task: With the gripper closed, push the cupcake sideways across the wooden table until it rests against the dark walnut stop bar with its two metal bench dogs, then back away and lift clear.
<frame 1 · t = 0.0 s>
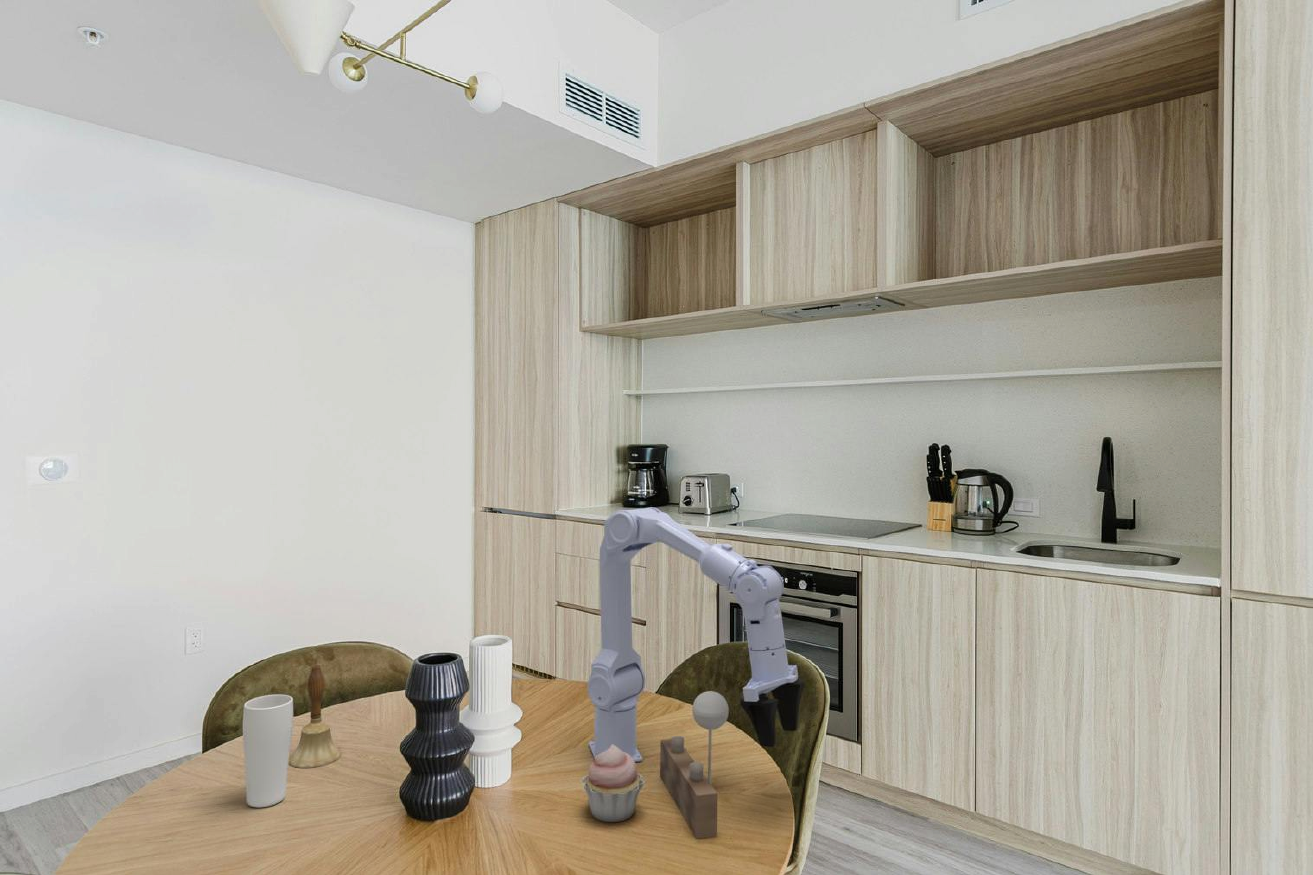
hand: (779, 737, 111), 11 cm above the table, tool pointing down, fingers open, 7 cm apart
stop bar: (686, 803, 112), on the table
hand bell: (315, 759, 126), on the table
lollipop: (709, 786, 118), on the table
drinking glass: (266, 802, 111), on the table
cupcake: (612, 813, 109), on the table
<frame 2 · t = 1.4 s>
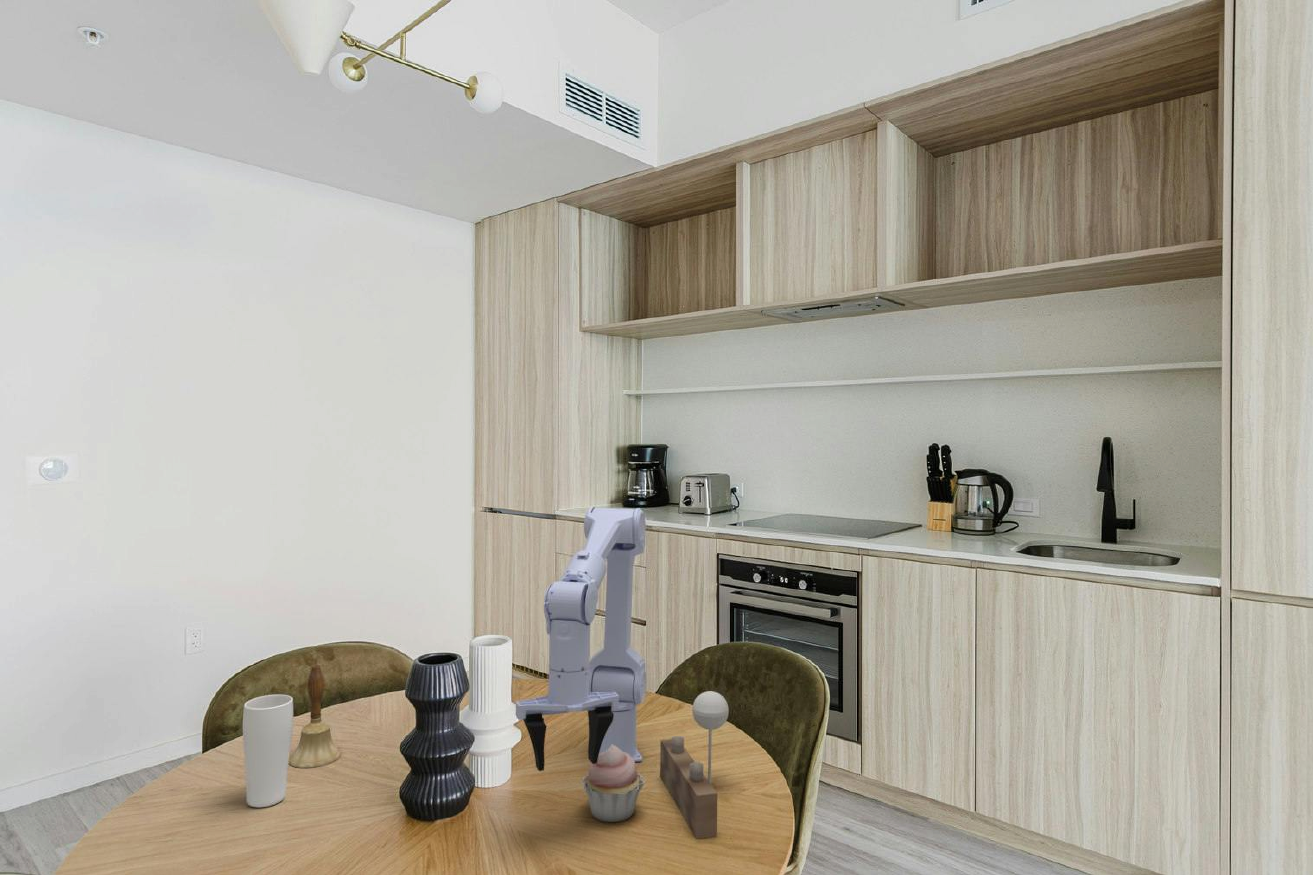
hand: (566, 764, 103), 10 cm above the table, tool pointing down, fingers open, 7 cm apart
nothing on the table moved.
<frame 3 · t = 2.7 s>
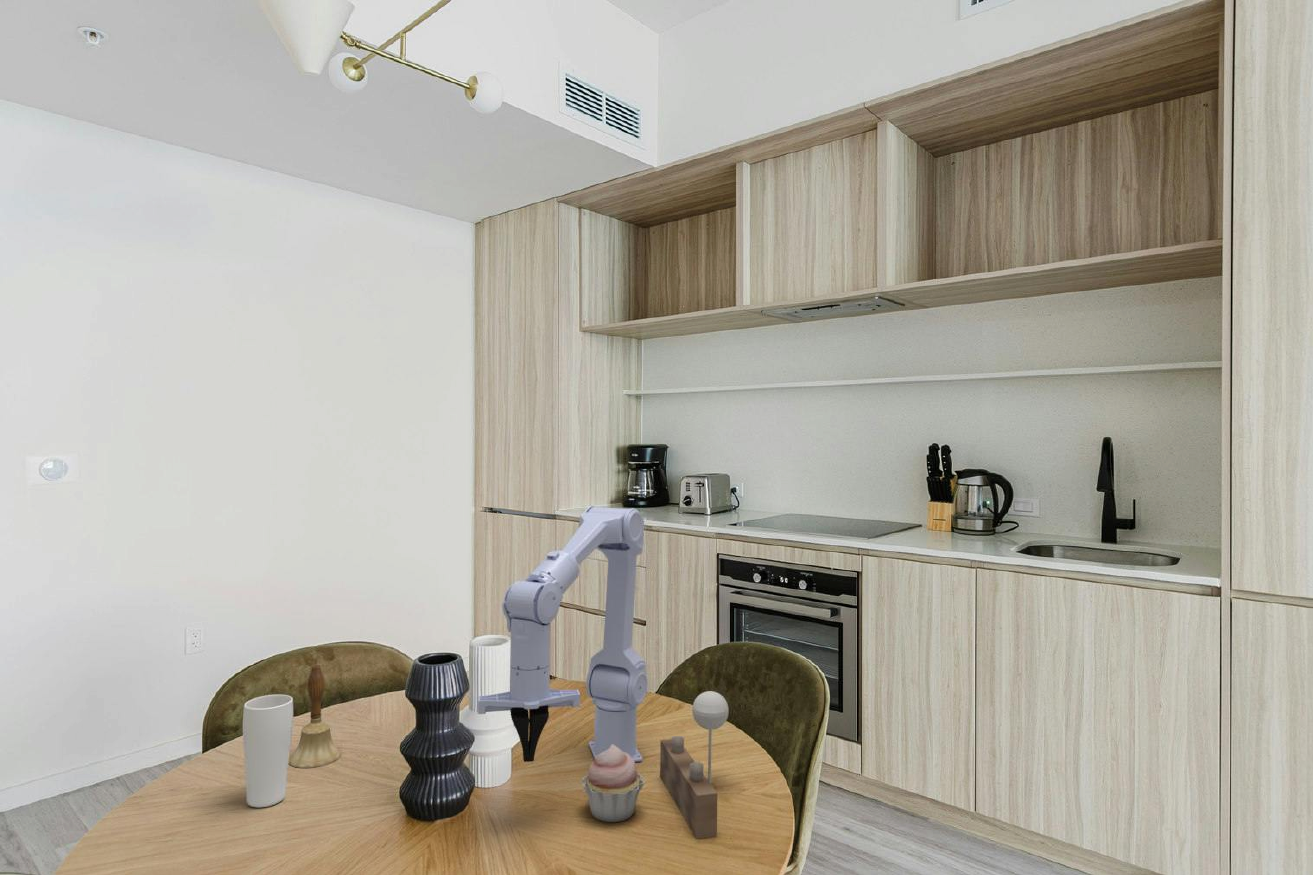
hand: (528, 758, 106), 9 cm above the table, tool pointing down, fingers closed
nothing on the table moved.
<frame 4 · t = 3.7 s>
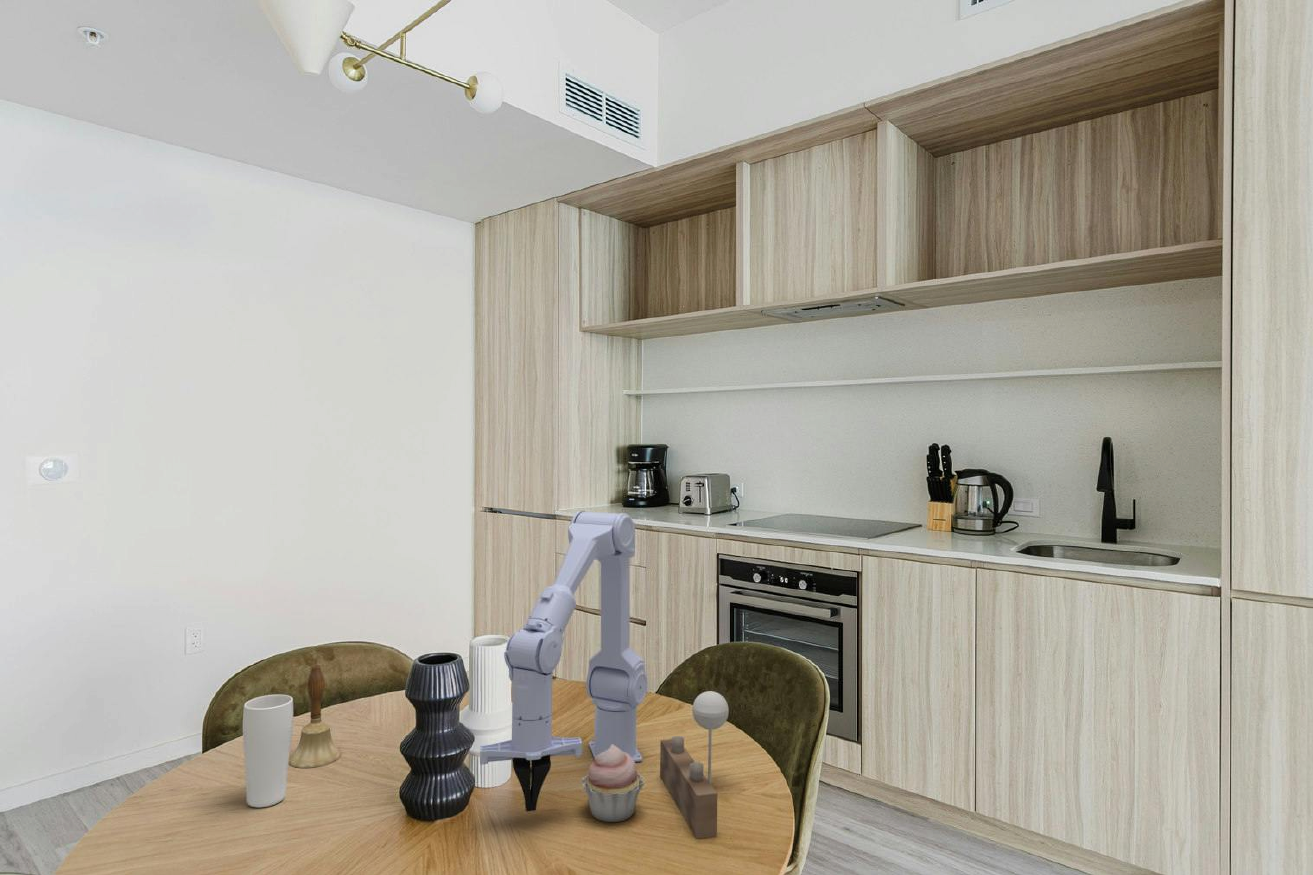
hand: (530, 807, 106), 2 cm above the table, tool pointing down, fingers closed
nothing on the table moved.
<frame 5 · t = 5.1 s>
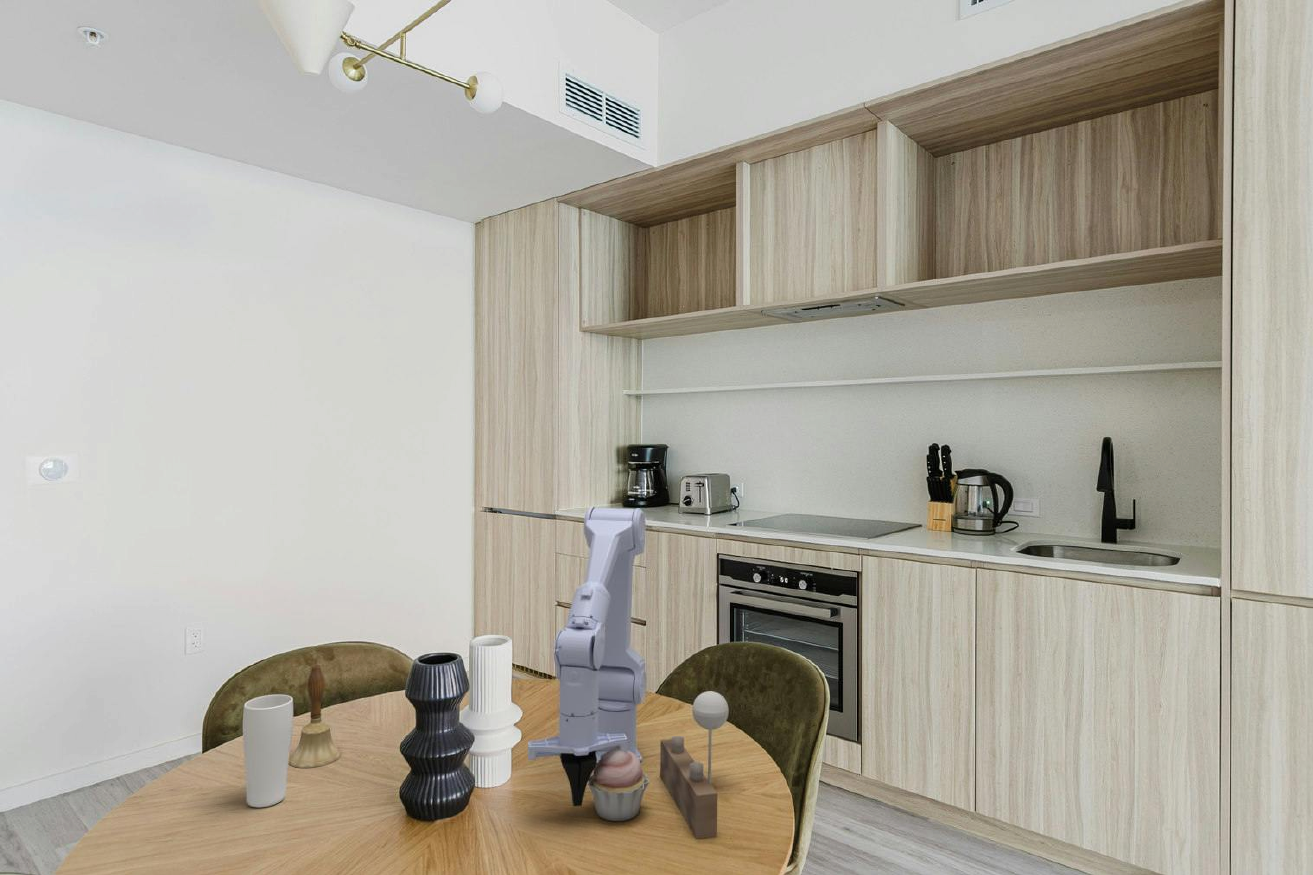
hand: (576, 802, 108), 2 cm above the table, tool pointing down, fingers closed
cupcake: (617, 812, 109), on the table, touching gripper
everything else where it was.
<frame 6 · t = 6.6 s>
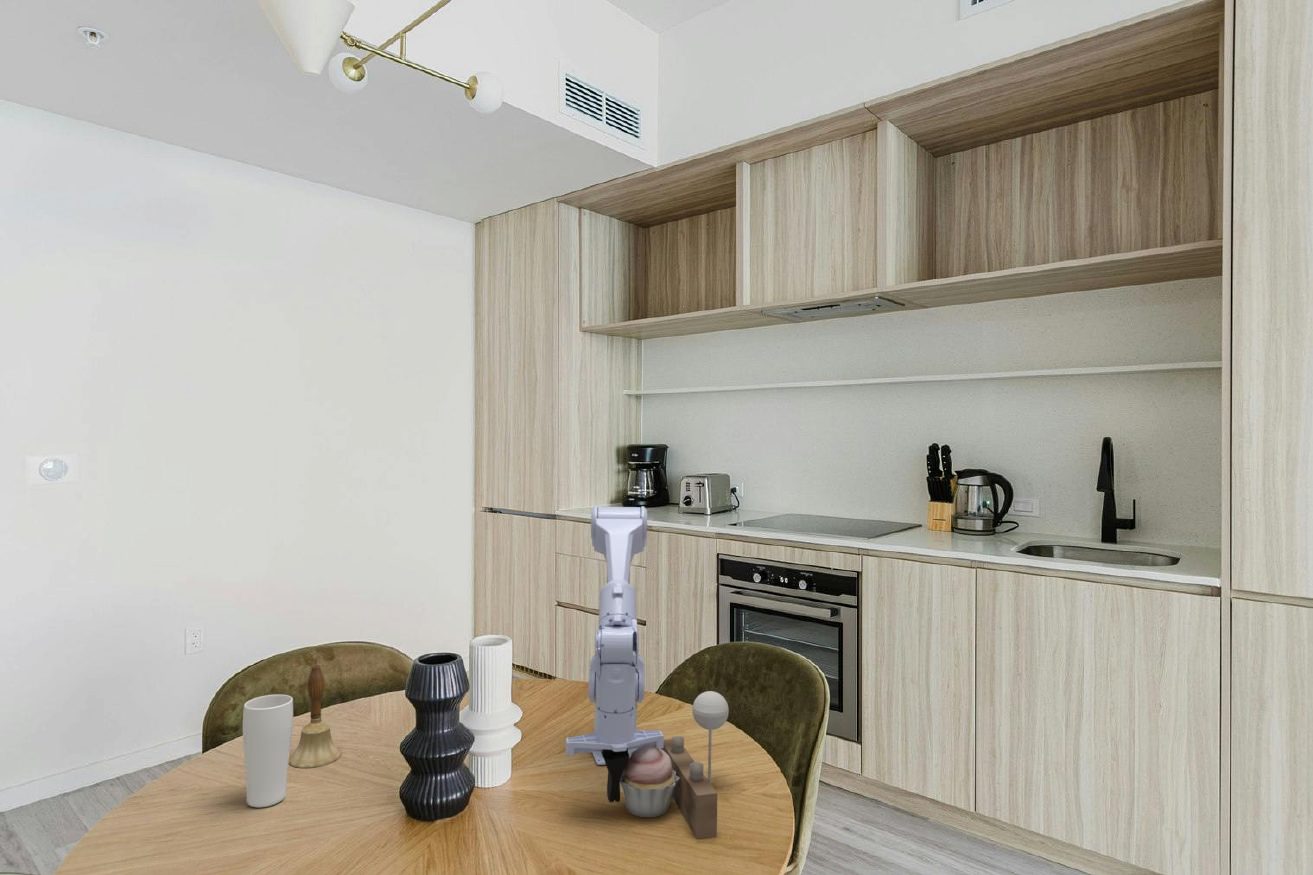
hand: (613, 799, 109), 2 cm above the table, tool pointing down, fingers closed, pressing on cupcake
cupcake: (646, 809, 110), on the table, touching gripper, stop bar
everything else where it was.
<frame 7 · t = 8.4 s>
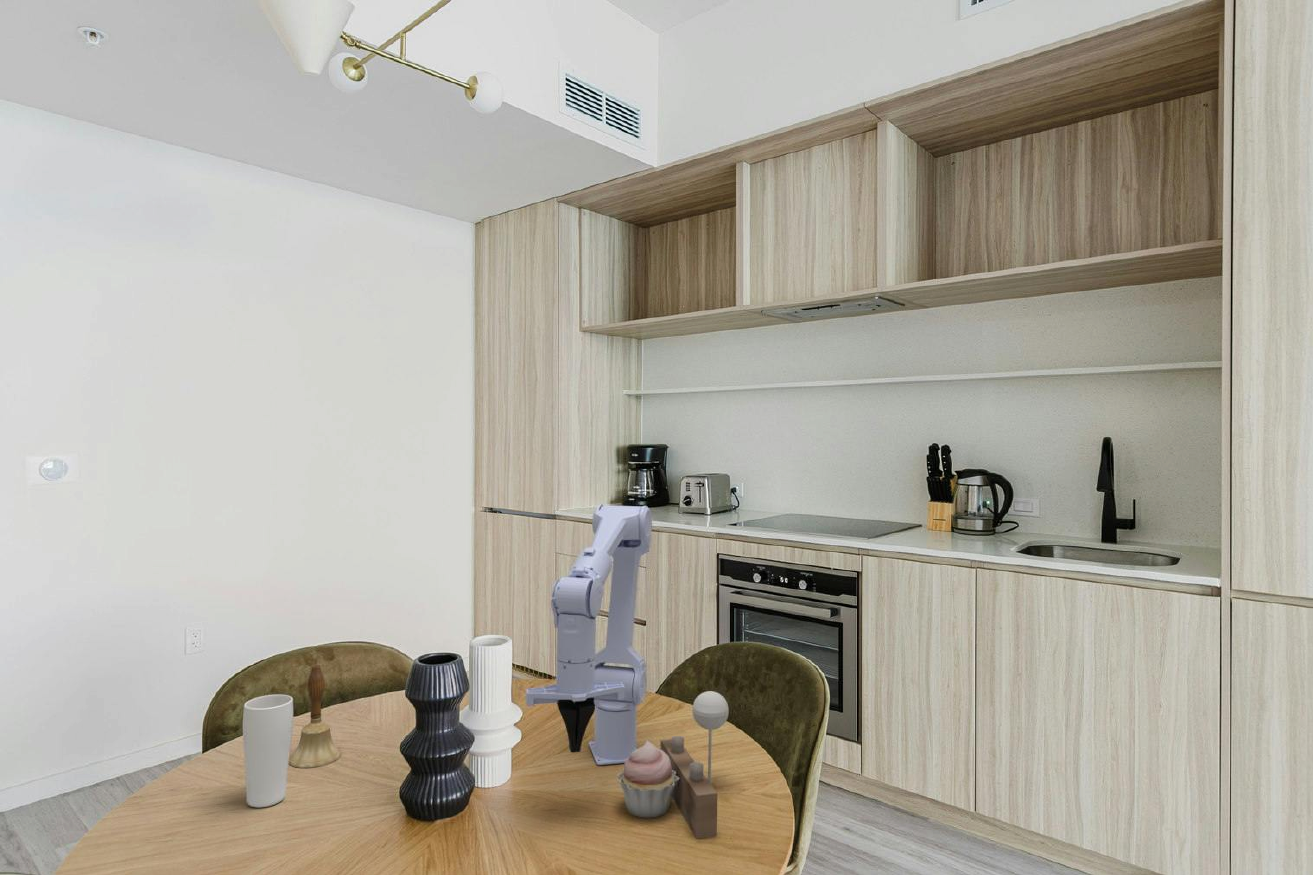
hand: (574, 749, 109), 9 cm above the table, tool pointing down, fingers closed
cupcake: (647, 809, 110), on the table, touching stop bar
everything else where it was.
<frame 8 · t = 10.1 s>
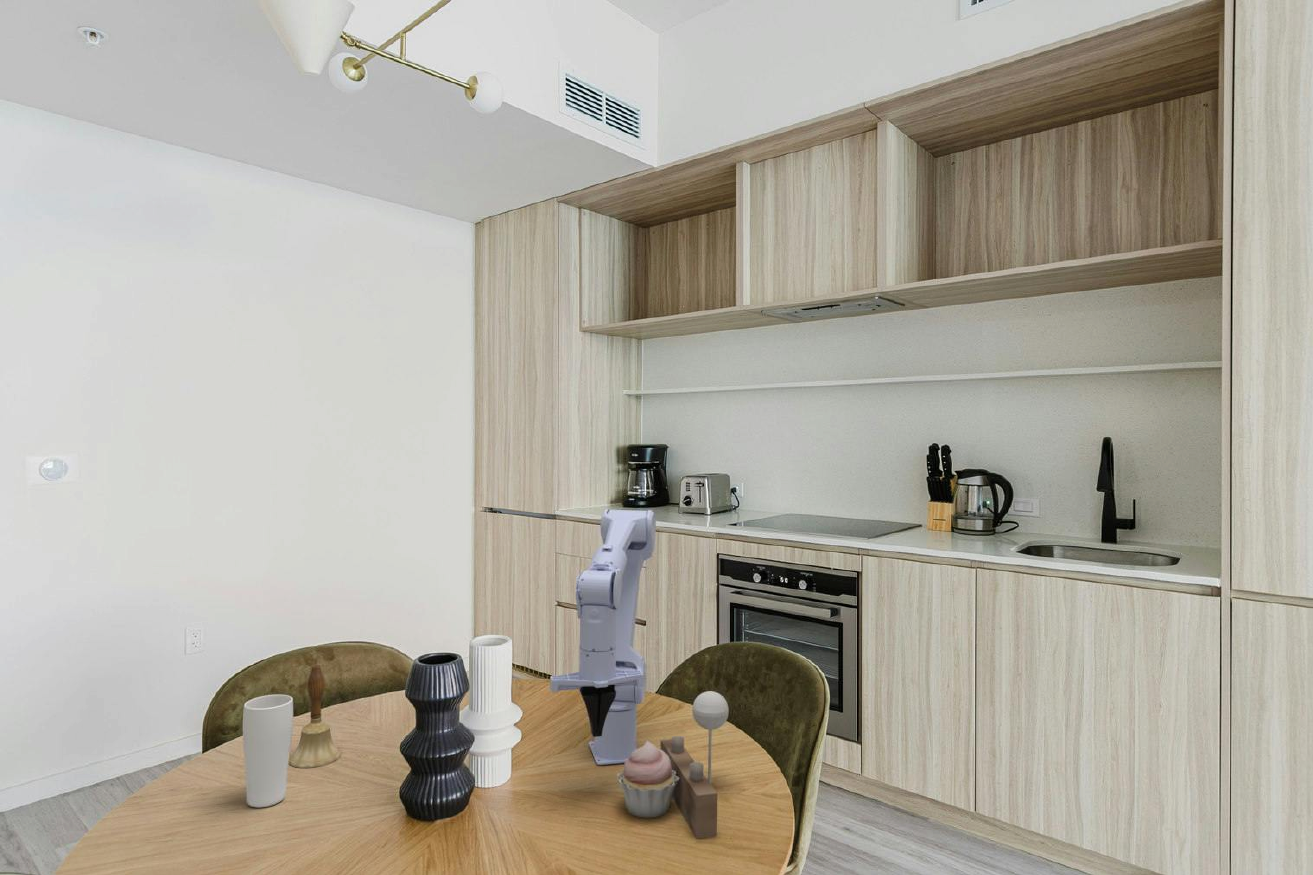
hand: (596, 734, 114), 9 cm above the table, tool pointing down, fingers closed
nothing on the table moved.
at the end: cupcake inside the target area (1.6 cm from its centre), on the table; cupcake tilted 0°; cupcake moved 5.4 cm from its start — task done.
